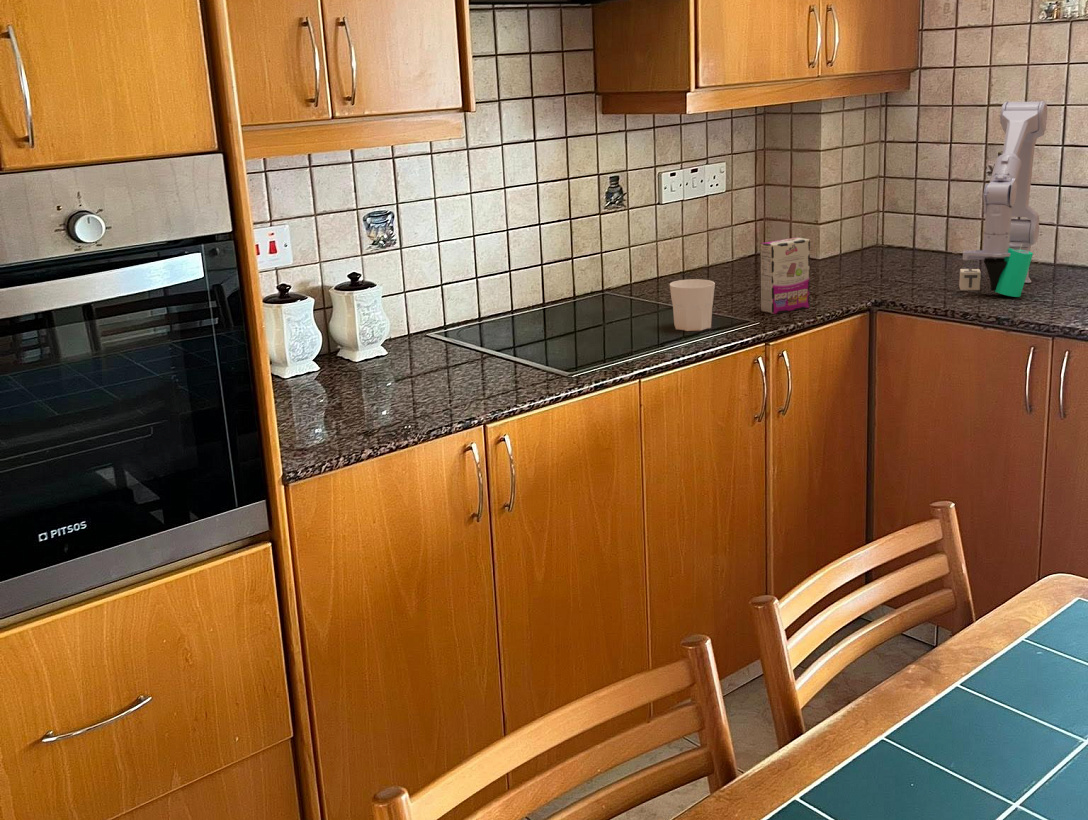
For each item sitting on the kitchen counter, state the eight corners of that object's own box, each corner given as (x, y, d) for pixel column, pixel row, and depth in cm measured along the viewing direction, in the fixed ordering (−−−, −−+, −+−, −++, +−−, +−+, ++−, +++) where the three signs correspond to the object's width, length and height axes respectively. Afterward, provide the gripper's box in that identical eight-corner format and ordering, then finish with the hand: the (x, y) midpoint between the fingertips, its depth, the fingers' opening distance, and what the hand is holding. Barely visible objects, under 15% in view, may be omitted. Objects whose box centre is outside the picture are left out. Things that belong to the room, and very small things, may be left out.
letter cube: (959, 286, 291) (960, 268, 290) (978, 286, 290) (979, 268, 289) (960, 290, 287) (961, 272, 286) (979, 290, 286) (980, 272, 284)
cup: (668, 322, 268) (668, 280, 265) (712, 321, 267) (712, 278, 265) (672, 332, 258) (671, 288, 255) (717, 331, 258) (717, 287, 255)
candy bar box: (796, 304, 280) (797, 236, 275) (810, 308, 275) (811, 239, 271) (758, 311, 275) (759, 242, 270) (772, 314, 271) (773, 244, 266)
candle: (1021, 295, 279) (1036, 246, 275) (1018, 298, 274) (1033, 248, 270) (996, 289, 281) (1010, 240, 278) (992, 292, 276) (1006, 242, 273)
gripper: (965, 235, 273) (962, 292, 277) (1032, 235, 269) (1027, 293, 273) (963, 231, 279) (960, 286, 283) (1028, 231, 275) (1024, 287, 279)
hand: (993, 289), depth 278 cm, fingers closed
